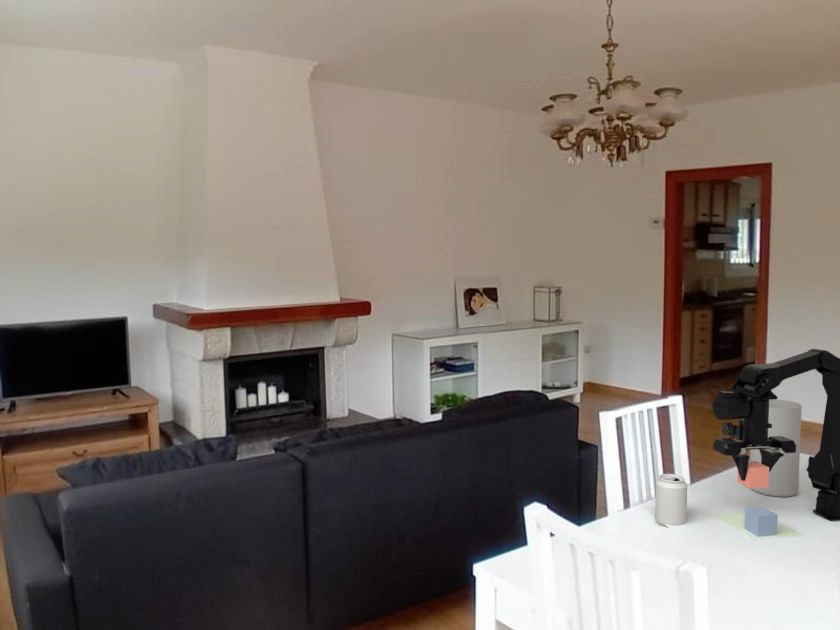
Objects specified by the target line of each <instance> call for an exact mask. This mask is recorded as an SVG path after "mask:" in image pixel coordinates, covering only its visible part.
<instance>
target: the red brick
mask: <svg viewBox="0 0 840 630" xmlns="http://www.w3.org/2000/svg"><path fill="white" fill-rule="evenodd" d="M736 482H737V483H738V484H741V485H742V486H744V487H746V488H748V489H751V488H768V486H769V467H767V466H765V465H763V464H761V463H759V462H757V461H755V462H750V461H749V462H748V468H747V475H746V479H745V481H743V480H741V478H740V475H739V472H738V471H737V481H736Z"/></svg>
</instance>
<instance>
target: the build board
mask: <svg viewBox="0 0 840 630" xmlns="http://www.w3.org/2000/svg"><path fill="white" fill-rule="evenodd" d="M714 516H715V517H716V518H718V519H719V520H721V521H723V522H725V523H726V524H728V525H729V526H731V527H733V528H734V529H735V530H737V531H739V532H740V533H742V534H744V535H745V536H747V538H749V539H752V540H753V541H761V540H772V539H784V538H785V539H786V538H795V537H804V536H805V535H804V534H802V533H800V532H798V531H796V529H795V530H794V529H793V528H791V527H789V526H787V525H786V524H784V523H782V522H781V521H779V520H777V535H773V536H762V537H757V536H756V535H754V534H752V533H751V532H749V531H748V530H746V529H744V527H745V511H744V512H742V511H741V512H731V513H718V514H714Z"/></svg>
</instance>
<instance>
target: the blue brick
mask: <svg viewBox="0 0 840 630" xmlns="http://www.w3.org/2000/svg"><path fill="white" fill-rule="evenodd" d="M744 512H745V527H744V529H746V530H748V531H749V532H751V533H752V534H754V535H756V536H757V537H762V536H773V535H777V521H779V520H778V516H779V515H778V514H777V513H775V512H773V511H772V510H770V509H769V508H767V507H764V506H761V507H760V506H759V507H748V508H744Z"/></svg>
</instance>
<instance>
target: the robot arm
mask: <svg viewBox="0 0 840 630" xmlns="http://www.w3.org/2000/svg"><path fill="white" fill-rule="evenodd" d="M814 370H815V371H816V372H818V373H819V374H821V376H822V379H821V380H822V381H821V382H822V386H823V388H824V392H825V393H826V402H825V403H826V404H825V410H824V411H825V412H824V417H823V418H824V419H823V423H822V432H821V439H820V445H819V450H818V452H817V453H816V454H815V455H814V456H812V455H810V456H809V457H808V465H807V468H806V472H807V474H808V475H807V477H808V479H809V480H810V483H811V486H812V488H813V489H817V496H816V498H815V501H816V502H815V509H812V513H815V514H816V515H818V516H820V517H822V518H824V519H826V520H828V521H840V357H837V356H836V355H834V354H833V353H831V352H830V351H829V350H825V349H819V348H811V349H809V350H808V351H805V352H802V353H798V354H796V355H793V356H790V357H787V358H784V359H781V360H777V361H775V362H771V363H754V364H752V363H751V364H747V365H745V366H743V367H742V368H741V372H740V373H739V375H738V377H736V380H735V381H734V382H733V384H732V386H731V387H730V389H729V391H725V390H724V391H723V390H721V391H719V392H718V396H716V397H715V398H714V400H713V403H712V412H713V414H714V416H715V418H716V419H717V420H720V421H726V422H722V423H721V433H722V435H723V436H728V437H725V438H723V437H722V438H715V440H714V441H713V443H712V450H714V451H716V452H718V453H720V454H721V455H724V456H731V458H732V459H733V461H734V463H735V466H736V469H737V473H738V472H739V475H740V478H741V480H743V481H745V479H746V475H747V468H748V462H750V455H748V454H746V452H747V450H749V451H750V449H759V451H760V454H761V464H763V465H765V466H767V467H769V473H770V471H771V469H772V468H773V466H774V465H775V464H776V462H777V461H778V460H779V458H780V457H783V456H784V454H782V453H780V448H782V451H783V452H784V453H796V444H795V442H794V441H793V440H791V439H788V438H786V437H783V436H770V437H769V438H768V428H772V424H771V423H769V400H772V399H778V398H779V397H778V396H777V395H776V393H774V392H773V390H774V389H775V388H777V387H779V386H780V385H781V383H782V382H783V381H784V380H787V379H789V378H793V377H795V376H796V377H797V376H799V375H801V374H805V373H808V372H810V371H814ZM728 420H738V424H735V425H734V424H733V422H732V421H728ZM734 439H736V440H738V441H736V440H734ZM750 445H752V446H750ZM757 445H758V446H757Z"/></svg>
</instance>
